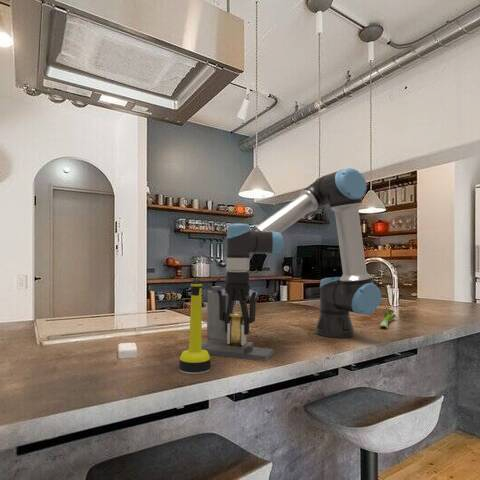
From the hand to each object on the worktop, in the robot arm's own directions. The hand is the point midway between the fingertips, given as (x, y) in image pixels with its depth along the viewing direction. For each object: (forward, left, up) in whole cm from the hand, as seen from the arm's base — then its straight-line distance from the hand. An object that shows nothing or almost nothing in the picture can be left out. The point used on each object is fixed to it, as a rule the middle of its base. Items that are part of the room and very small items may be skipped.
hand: (236, 343), depth 115 cm
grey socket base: (0, 0, -3) cm, 3 cm away
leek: (-47, -78, -4) cm, 91 cm away
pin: (0, 0, -3) cm, 3 cm away
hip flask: (+14, -15, -3) cm, 21 cm away
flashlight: (+5, +19, -3) cm, 20 cm away
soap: (+31, +15, -4) cm, 35 cm away
